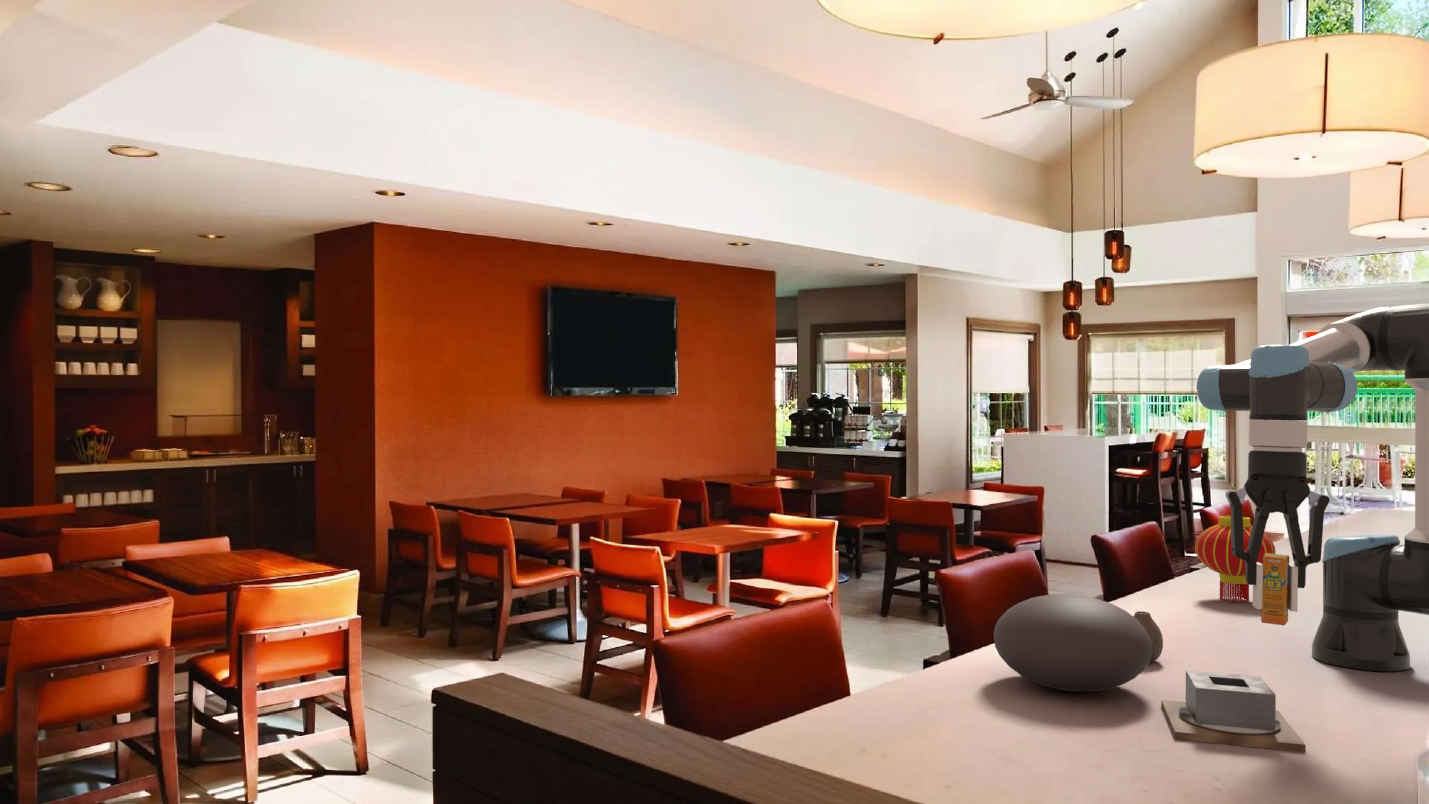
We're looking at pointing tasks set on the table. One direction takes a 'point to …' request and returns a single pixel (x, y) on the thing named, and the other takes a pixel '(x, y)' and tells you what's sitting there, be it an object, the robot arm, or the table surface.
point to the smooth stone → (1072, 642)
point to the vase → (1151, 633)
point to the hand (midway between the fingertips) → (1274, 608)
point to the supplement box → (1275, 589)
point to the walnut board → (1186, 731)
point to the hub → (1229, 703)
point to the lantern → (1229, 556)
